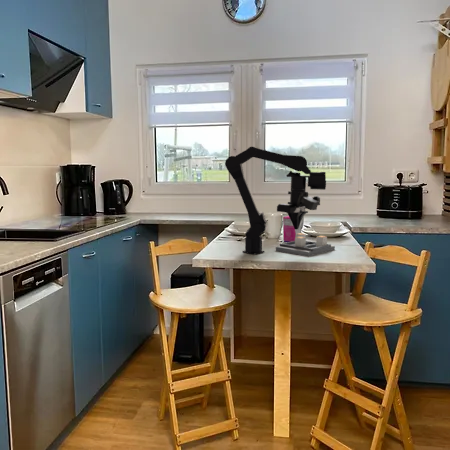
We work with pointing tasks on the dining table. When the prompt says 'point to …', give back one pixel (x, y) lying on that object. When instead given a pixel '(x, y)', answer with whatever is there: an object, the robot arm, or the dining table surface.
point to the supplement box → (289, 230)
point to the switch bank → (304, 248)
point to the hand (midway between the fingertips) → (296, 229)
